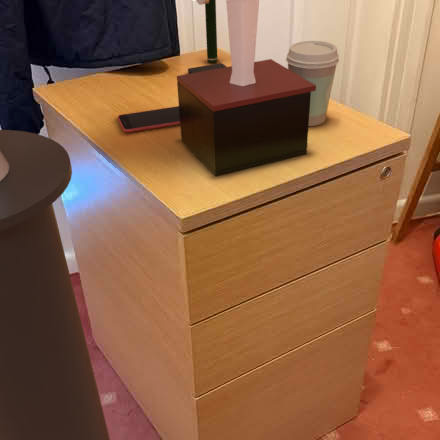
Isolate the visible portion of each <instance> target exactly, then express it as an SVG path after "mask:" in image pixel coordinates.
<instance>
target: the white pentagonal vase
mask: <svg viewBox="0 0 440 440" xmlns="http://www.w3.org/2000/svg"><path fill="white" fill-rule="evenodd" d="M225 1H226V2H225V3H226V12H227V27H228V38H229V39H228V40H229V50H230V51H229V52H230V53H229V54H230V64H231V66H232V74H231V79H230V83H232V84H235V85H239V86H246V85H249V84H253V83H256V80H255V76H254V72H253V71H254V62H255V58H256V47H257V46H256V45H257V35H258V34H257V32H258V21H259V7H260V0H225Z"/></svg>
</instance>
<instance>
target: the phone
mask: <svg viewBox="0 0 440 440" xmlns="http://www.w3.org/2000/svg"><path fill="white" fill-rule="evenodd" d="M224 67H228V66H227V65H225V64H224V63H223V62H218V63H217V62H216V63H210V64H207V65H200V66H195V67H191V68H190V67H189V68H187V74H191V73H196V72H202V71H207V70H213V69H219V68H224Z"/></svg>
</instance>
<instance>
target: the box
mask: <svg viewBox="0 0 440 440" xmlns="http://www.w3.org/2000/svg"><path fill="white" fill-rule="evenodd" d="M176 83H177V84H176V85H177V99H178V106H179V114H180V124H179V127H180V137H181V138H180V141H181V142H182V144H183V145H185V146H186V148H187V149H188V150H189V151H190V152H191V153H192V154H193V155H194V156H195V157H196V158H197V159H198V160H199V161H200V162H201V163H202V164H203V165H204V166H205V167H206V168H207V170H209V171H210V172H211V173H212V175H214V176H215V177H218V176H219V177H220V176H224V175H227V174H231V173H235V172H238V171H239V172H240V171H243V170H247V169H251V168H255V167H260V166H264V165H267V164H271V163H275V162H279V161H284V160H289V159H292V158H296V157H300V156H305V155H307V152H308V150H307V148H308V137H309V126H308V125H309V112H310V98H311V92H307V93H302V94H297V95H292V96H288V97H283V98H278V99H273V100H268V101H263V102H258V103H253V104H249V105H244V106H239V107H234V108H229V109H224V110H219V111H214V112H213V111H212V110H211V109H210V108H208V107H207V106H206V105H205V104H204V103H202V102H201V101H200V100H199V99H198V98H197V97H195V96H194V95H193V94H192V93H191V92H189V91H188V90H187V89H186V88H185V87H183V86H182V85H181V84H180V83H179V82H178V81H176Z"/></svg>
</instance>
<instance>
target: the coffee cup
mask: <svg viewBox="0 0 440 440" xmlns="http://www.w3.org/2000/svg"><path fill="white" fill-rule="evenodd" d="M285 58H286V59H285V61H286V63H287V69H289V70H290V71H292V72H294V73H296V74H297V75H299V76H301V77H302V78H304V79H306V80H308V81H309V82H311V83H313V84H314V85H316V91H312V92H311V98H310V112H309V125H308V127H315V126H320V125H321V124H324V122H325V121H326V116H327V113H328V107H329V103H330V98H331V95H332V94H331V93H332V88H333V83H334V79H335V73H336V69H337V66H338V63H340V59H339V58H340V55H339V53H338V48H337V46H336V44H333V43H331V42H328V41H323V40H302V41H298V42H295V43H293V44H291V45H290V47H289V50H288V53H287V54H286V57H285Z"/></svg>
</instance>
